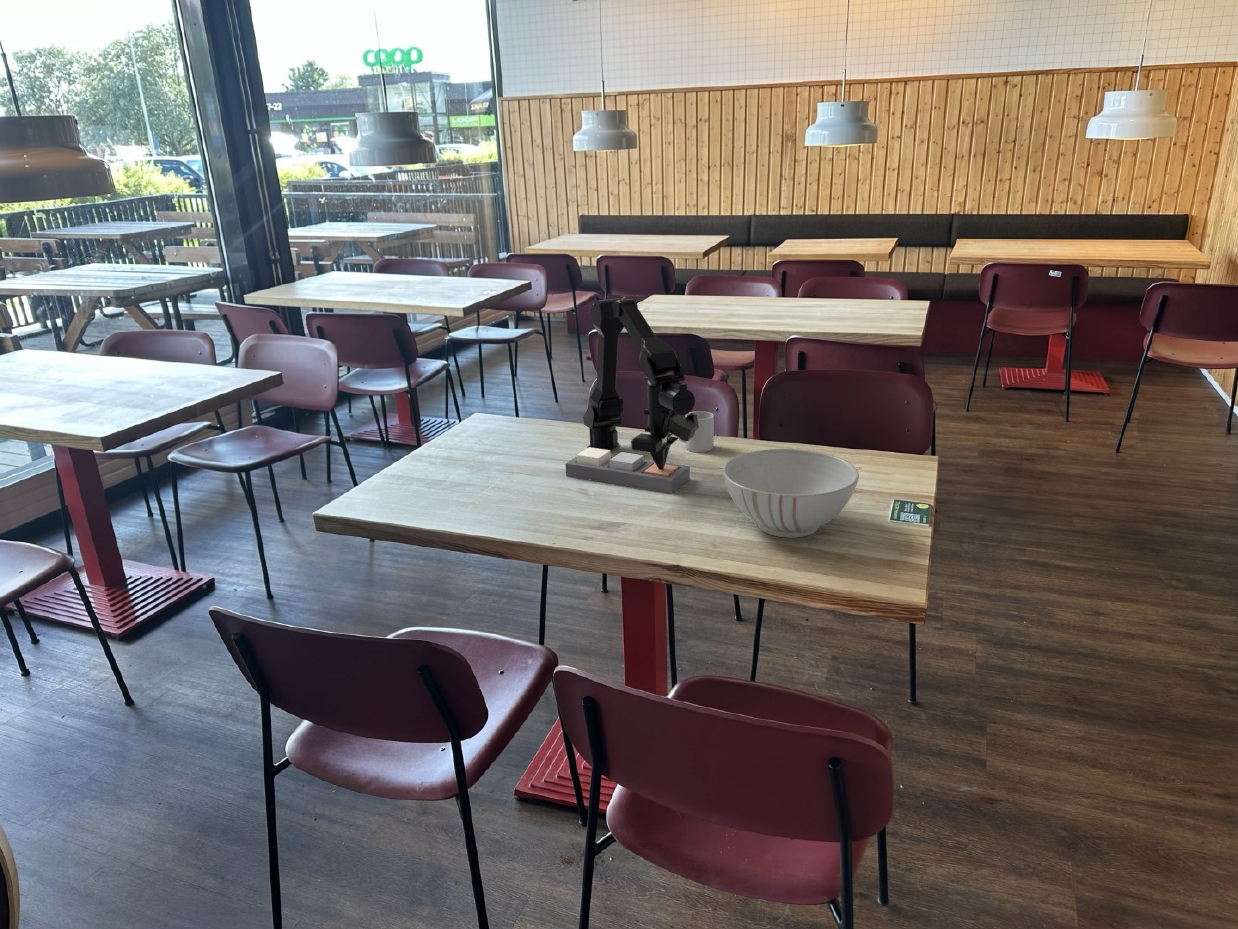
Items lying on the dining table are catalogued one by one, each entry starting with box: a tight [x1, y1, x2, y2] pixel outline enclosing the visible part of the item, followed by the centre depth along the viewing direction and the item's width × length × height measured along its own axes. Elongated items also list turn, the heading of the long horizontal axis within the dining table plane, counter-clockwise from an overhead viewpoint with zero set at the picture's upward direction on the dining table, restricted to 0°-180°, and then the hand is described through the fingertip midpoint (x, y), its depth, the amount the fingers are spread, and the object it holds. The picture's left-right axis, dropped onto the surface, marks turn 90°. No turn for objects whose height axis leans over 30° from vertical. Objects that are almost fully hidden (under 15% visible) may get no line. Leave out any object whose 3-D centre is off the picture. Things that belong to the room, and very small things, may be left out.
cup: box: [678, 410, 715, 453], centre depth 225 cm, size 7×10×9 cm
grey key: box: [609, 451, 645, 472], centre depth 207 cm, size 6×6×2 cm
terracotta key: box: [644, 464, 678, 477], centre depth 203 cm, size 6×6×2 cm
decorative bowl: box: [722, 448, 860, 539], centre depth 177 cm, size 27×27×12 cm
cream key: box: [576, 447, 612, 466], centre depth 211 cm, size 6×6×2 cm
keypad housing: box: [565, 453, 691, 495], centre depth 207 cm, size 28×10×3 cm, turn 62°
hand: (661, 468), depth 203 cm, fingers closed, pressing on terracotta key
